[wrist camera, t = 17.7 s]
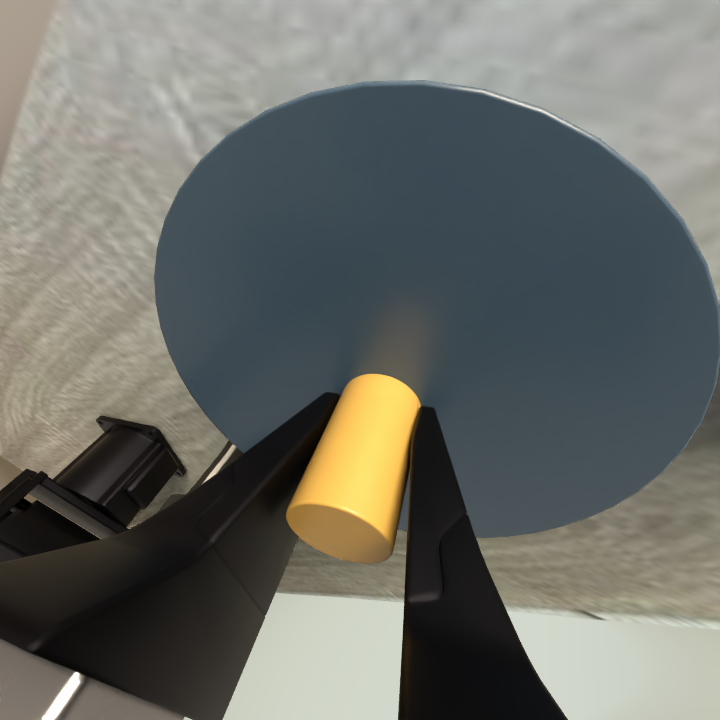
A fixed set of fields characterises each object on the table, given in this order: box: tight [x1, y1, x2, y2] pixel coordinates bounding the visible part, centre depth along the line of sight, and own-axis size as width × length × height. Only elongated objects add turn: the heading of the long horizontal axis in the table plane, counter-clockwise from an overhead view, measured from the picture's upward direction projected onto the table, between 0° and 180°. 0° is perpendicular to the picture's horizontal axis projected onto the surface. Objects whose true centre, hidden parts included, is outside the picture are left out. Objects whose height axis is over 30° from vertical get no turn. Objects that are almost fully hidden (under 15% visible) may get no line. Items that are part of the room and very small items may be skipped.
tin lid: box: [154, 80, 720, 564], centre depth 9 cm, size 15×15×5 cm
